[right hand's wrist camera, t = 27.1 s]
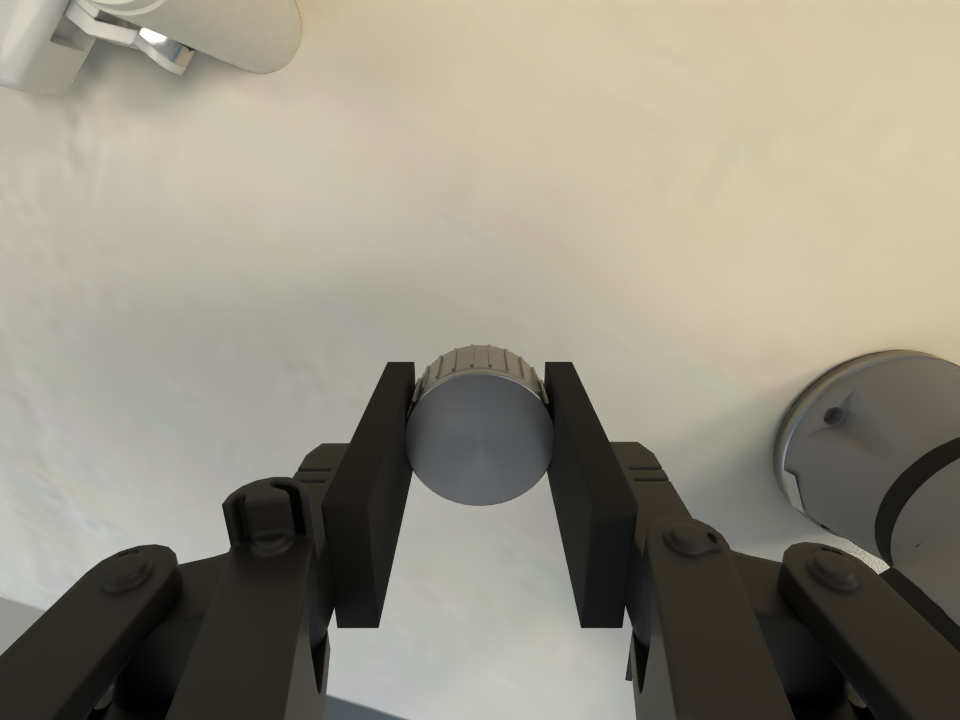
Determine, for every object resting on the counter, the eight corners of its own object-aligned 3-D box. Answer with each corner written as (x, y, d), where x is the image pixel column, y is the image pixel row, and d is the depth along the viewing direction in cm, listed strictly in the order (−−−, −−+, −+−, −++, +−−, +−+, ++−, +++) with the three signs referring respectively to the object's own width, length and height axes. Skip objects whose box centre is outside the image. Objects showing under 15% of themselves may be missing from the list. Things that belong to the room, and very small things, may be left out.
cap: (575, 392, 15) (590, 426, 13) (494, 487, 16) (496, 531, 14) (462, 315, 14) (460, 339, 12) (386, 421, 15) (372, 459, 13)
